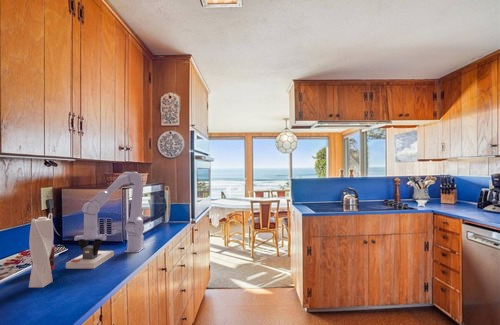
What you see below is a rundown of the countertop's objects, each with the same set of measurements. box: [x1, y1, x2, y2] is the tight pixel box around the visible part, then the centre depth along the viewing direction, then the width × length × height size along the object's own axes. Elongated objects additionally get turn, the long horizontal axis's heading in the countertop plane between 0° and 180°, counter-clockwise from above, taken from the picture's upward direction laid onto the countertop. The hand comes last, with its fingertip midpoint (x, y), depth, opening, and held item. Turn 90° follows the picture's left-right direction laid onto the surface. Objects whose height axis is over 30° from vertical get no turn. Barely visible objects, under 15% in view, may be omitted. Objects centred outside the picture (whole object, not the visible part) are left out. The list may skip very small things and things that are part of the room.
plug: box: [82, 245, 97, 259], centre depth 132 cm, size 7×4×6 cm
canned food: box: [31, 243, 55, 272], centre depth 120 cm, size 8×8×11 cm
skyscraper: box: [28, 212, 54, 288], centre depth 107 cm, size 8×8×28 cm
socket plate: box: [65, 250, 115, 270], centre depth 132 cm, size 18×13×3 cm
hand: (90, 254), depth 131 cm, fingers closed on plug, 4 cm apart
